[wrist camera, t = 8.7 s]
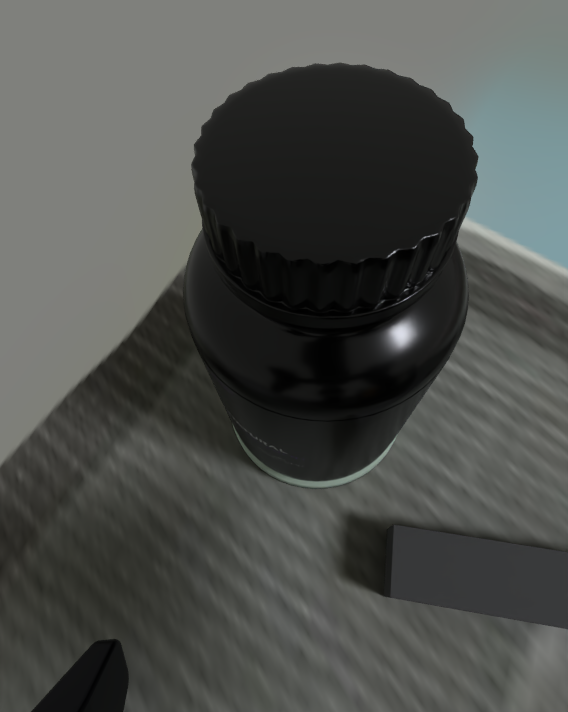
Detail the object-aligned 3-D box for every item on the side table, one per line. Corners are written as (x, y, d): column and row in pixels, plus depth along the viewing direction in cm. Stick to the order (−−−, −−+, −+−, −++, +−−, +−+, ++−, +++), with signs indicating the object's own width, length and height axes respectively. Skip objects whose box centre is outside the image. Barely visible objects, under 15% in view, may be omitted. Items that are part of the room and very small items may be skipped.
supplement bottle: (215, 472, 17) (56, 293, 6) (249, 319, 20) (179, 19, 9) (399, 500, 16) (571, 349, 6) (406, 336, 19) (528, 31, 9)
